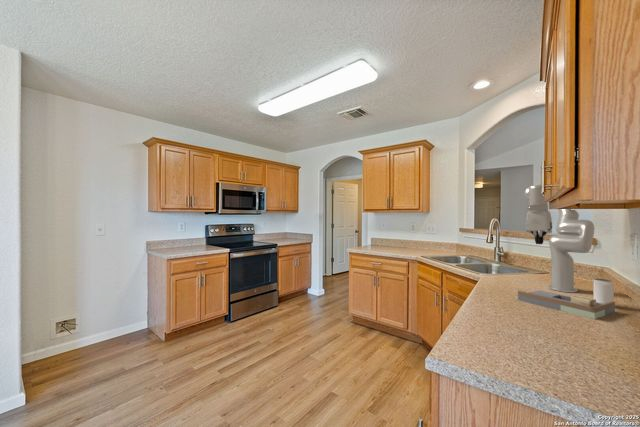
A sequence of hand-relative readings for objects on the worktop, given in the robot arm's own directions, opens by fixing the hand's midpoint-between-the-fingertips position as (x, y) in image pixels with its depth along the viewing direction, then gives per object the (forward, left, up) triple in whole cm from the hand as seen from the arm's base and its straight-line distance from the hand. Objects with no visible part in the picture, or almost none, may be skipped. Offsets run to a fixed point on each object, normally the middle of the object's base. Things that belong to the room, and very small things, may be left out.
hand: (539, 243), depth 137 cm
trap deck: (+5, +12, -28) cm, 30 cm away
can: (-13, +20, -28) cm, 37 cm away
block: (+10, +21, -25) cm, 34 cm away
